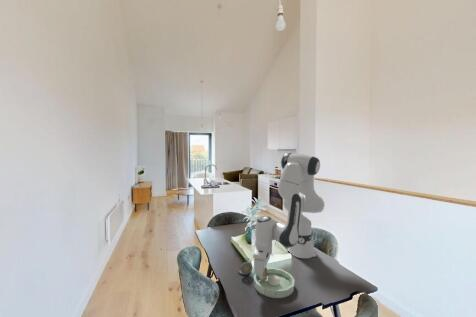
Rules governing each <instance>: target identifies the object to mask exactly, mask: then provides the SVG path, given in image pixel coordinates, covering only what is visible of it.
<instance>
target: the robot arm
mask: <svg viewBox="0 0 476 317" xmlns="http://www.w3.org/2000/svg"><path fill="white" fill-rule="evenodd" d="M280 165H281V168H282V172H281V175H280V178H279V182H278V186H277V191H278V195H279V196H280V198H282V199H283V201H282V203H283V205H282V206H283V207H284V209H285V210H286V211H287V212H288V214H287V221H286V224H285V223H284V222H282V221H280V220H277V219H273V218H272V217H271V216H268V215H263V216H259V217H258V218H257V219H256V221H255V222H256V223H255V228H254V236H255V240H254V248H253V249H254V250H253V253H252V258H253V268H254V269H253V270H254V275H257V276H259V278H260V279H263V273H264V270H265V268H267V265H268V263H269V260H270V258H271V255H272V253H273V241H276V242H278V243H280V245H282V246H284V247H285V248H287V250H288V251H289V252H291V253H292V254H291V253H290V254H291V255H292V256H293V257H296V258H298V259H311V258H313V257H315V258H316V257H317V252H316V251H315V248H314V245H315V244H314V242H313V240H312V237H313V234H312V221H311V219H310V218H308V217H306V216H305V215H304V214H303V213H310V214H318V213H322V212H323V211H324V209H325V201H324V199H323V198H322V197H321V196H319V195H318V194H317V192H316V190H315V185H314V183H315V180H314V179H315V175H317V174H318V172H319V171H320V168H321V161H320V159H319V158H318V157H316V156H311V155H307V154H304V153H303V154H302V153H301V154H299V153H292V152H287V153H284V154H283V155H282V157H281V161H280ZM287 250H286V251H287ZM289 252H288V253H289Z"/></svg>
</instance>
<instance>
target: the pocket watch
mask: <svg viewBox="0 0 476 317" xmlns="http://www.w3.org/2000/svg"><path fill="white" fill-rule="evenodd" d="M249 259H250V258H249V257H245V258H244V260H245V262H243V263H242V264H241V265H240V268H238V273H239V274H240V275H244V276H246V275H249V274H250V273H251V272H252V271H253V265H252V263H251V262H250V261H249Z"/></svg>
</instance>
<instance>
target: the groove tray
mask: <svg viewBox="0 0 476 317" xmlns="http://www.w3.org/2000/svg"><path fill="white" fill-rule="evenodd" d="M266 268H267V279H266V280H264V281H262V280H259V279H258V276H257V275H255V274H254V275H253V278H252V279H253V287H254V288H255V290H256V292H258V293H259V294H261V295H262V296H265V297H267V298H272V299H283V298H288V297H290V296H291V295H292V294H293V293H294V291H295V285H296V284H295V283H296V282H295V278H294V277H293V276H292V274H291V273H290V272H288V271H285V270H284V269H281V268H276V267H266Z"/></svg>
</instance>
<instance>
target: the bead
mask: <svg viewBox="0 0 476 317" xmlns="http://www.w3.org/2000/svg"><path fill="white" fill-rule="evenodd" d="M267 268H268V267H266V268H265V270H264V273H263V279H260V278H259V276H258V279H259V280H262V281H264V280H266V279H267Z"/></svg>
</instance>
